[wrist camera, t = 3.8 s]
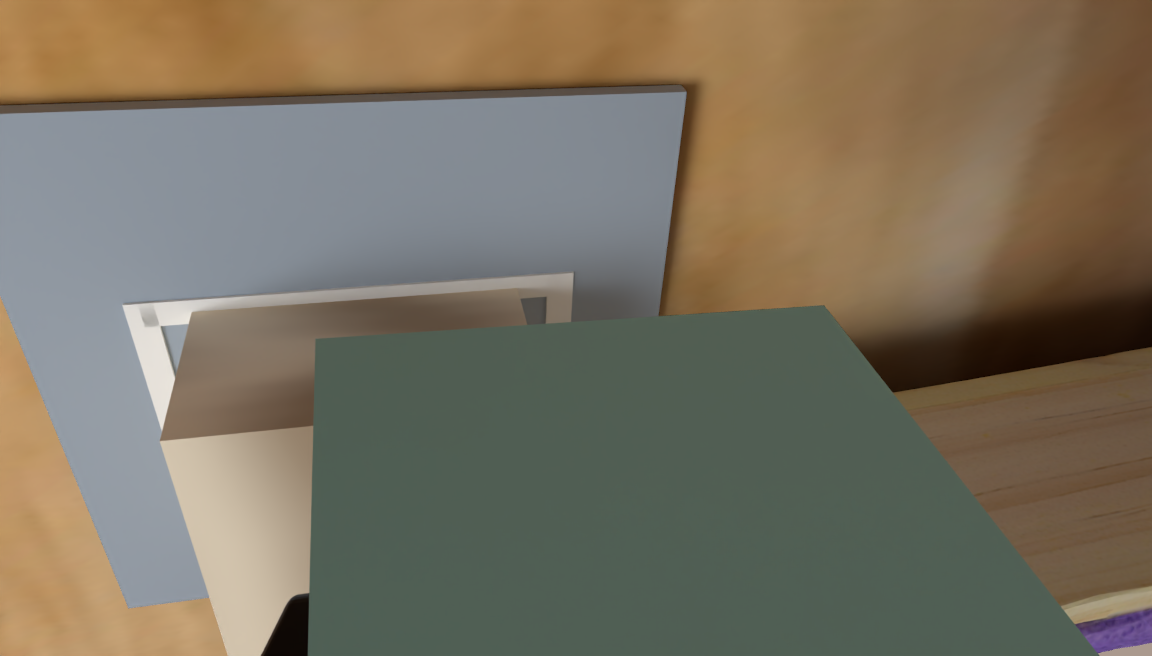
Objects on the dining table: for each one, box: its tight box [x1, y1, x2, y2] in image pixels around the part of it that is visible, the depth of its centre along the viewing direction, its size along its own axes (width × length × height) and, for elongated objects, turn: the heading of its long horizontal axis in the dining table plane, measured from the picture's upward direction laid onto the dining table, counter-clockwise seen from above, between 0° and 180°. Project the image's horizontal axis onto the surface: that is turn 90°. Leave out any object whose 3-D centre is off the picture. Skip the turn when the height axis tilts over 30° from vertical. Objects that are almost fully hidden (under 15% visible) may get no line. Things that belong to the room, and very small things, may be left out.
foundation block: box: [160, 288, 527, 656], centre depth 20 cm, size 7×7×4 cm
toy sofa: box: [893, 347, 1152, 653], centre depth 23 cm, size 21×9×10 cm, turn 93°
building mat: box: [0, 85, 687, 608], centre depth 21 cm, size 14×14×1 cm
